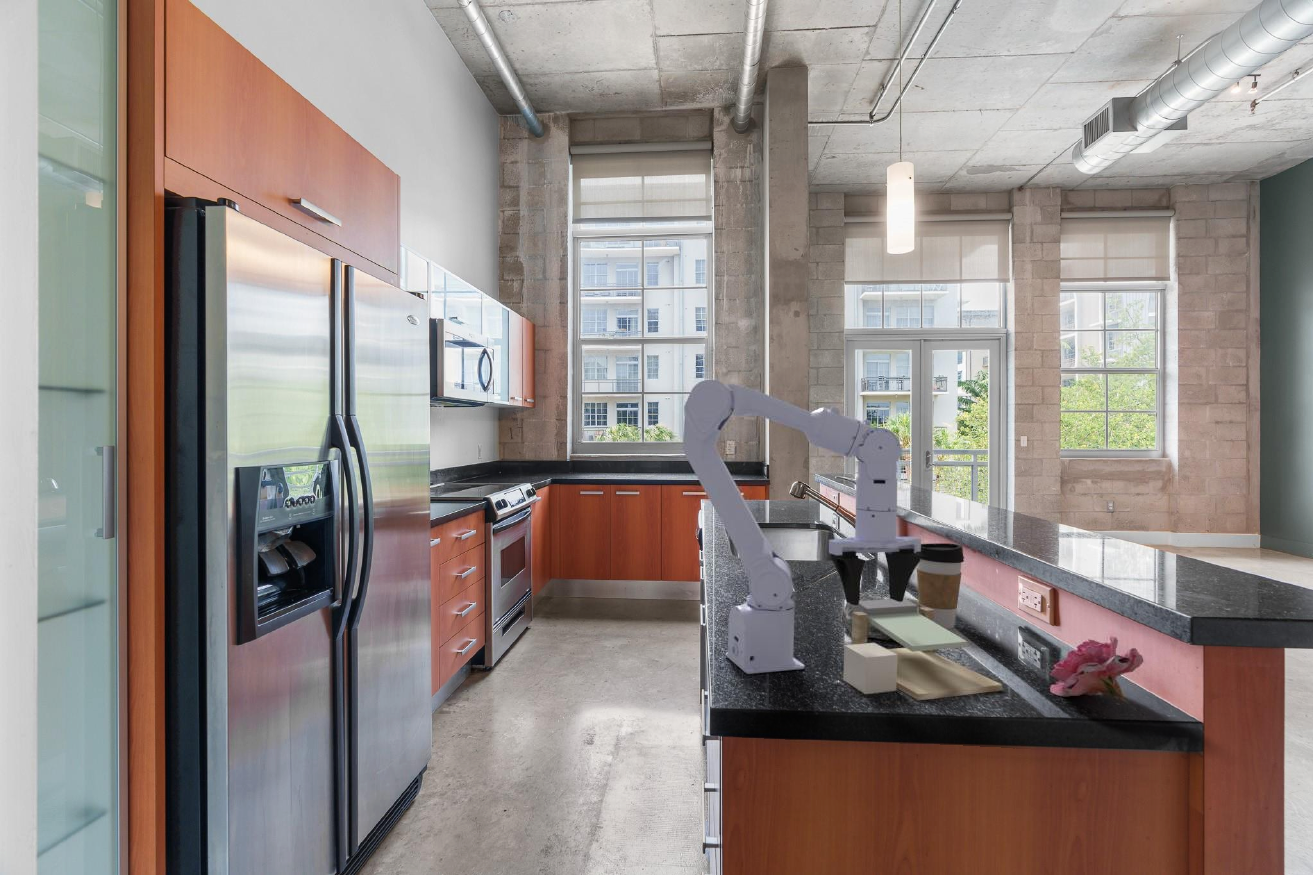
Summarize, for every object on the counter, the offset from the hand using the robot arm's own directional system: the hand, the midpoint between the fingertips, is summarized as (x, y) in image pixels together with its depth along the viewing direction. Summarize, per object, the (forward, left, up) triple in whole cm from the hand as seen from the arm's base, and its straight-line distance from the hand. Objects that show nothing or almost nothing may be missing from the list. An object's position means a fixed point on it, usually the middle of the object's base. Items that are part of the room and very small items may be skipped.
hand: (874, 601), depth 91 cm
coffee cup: (+28, +18, -11) cm, 35 cm away
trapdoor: (+7, +1, -6) cm, 9 cm away
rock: (+14, +16, -11) cm, 24 cm away
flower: (+23, -15, -11) cm, 30 cm away
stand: (+7, -1, -10) cm, 12 cm away
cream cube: (-3, -4, -11) cm, 12 cm away
